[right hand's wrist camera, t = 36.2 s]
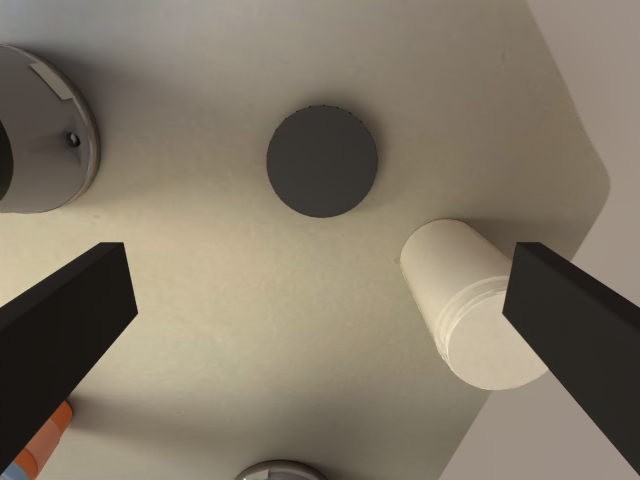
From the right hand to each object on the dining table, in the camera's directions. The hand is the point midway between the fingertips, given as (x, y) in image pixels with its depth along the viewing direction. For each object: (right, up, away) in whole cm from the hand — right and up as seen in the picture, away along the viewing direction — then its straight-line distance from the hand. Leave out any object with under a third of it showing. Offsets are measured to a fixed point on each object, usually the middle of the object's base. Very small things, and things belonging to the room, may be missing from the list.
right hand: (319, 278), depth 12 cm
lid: (0, +9, +23) cm, 24 cm away
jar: (+13, -1, +28) cm, 31 cm away
